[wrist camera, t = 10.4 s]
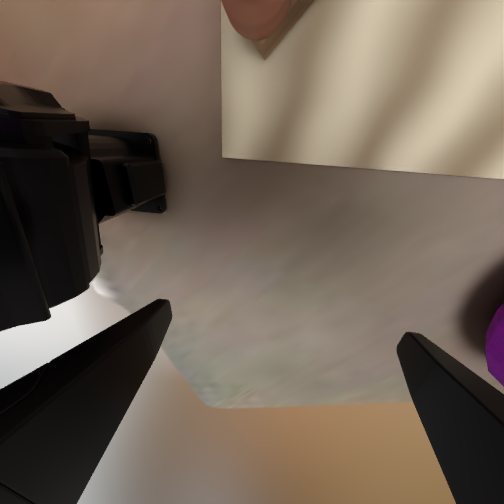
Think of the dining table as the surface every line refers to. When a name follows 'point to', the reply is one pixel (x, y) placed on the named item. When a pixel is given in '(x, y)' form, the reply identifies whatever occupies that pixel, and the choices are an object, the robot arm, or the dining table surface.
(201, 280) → the dining table surface
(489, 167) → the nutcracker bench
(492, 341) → the decorative plant
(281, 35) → the lever
